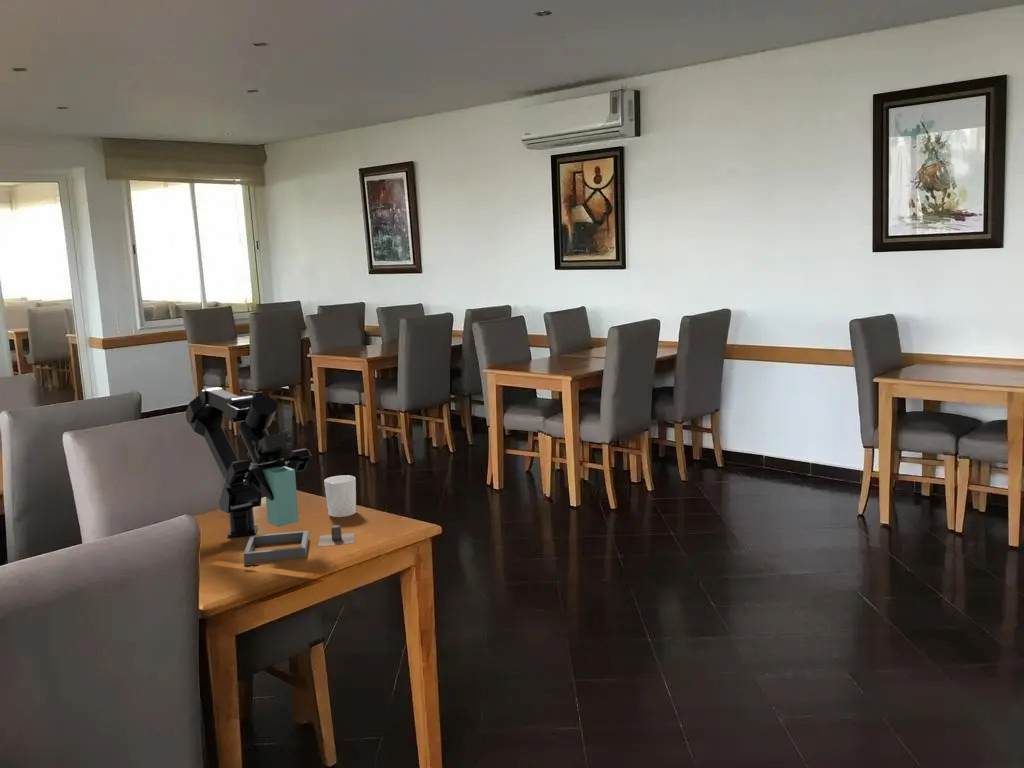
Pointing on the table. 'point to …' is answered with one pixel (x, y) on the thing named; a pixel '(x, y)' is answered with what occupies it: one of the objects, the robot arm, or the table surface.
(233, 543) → the table surface
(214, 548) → the table surface
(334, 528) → the grey plate with post
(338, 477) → the white cup
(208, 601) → the table surface
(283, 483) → the sleeve
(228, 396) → the robot arm
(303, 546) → the tray
